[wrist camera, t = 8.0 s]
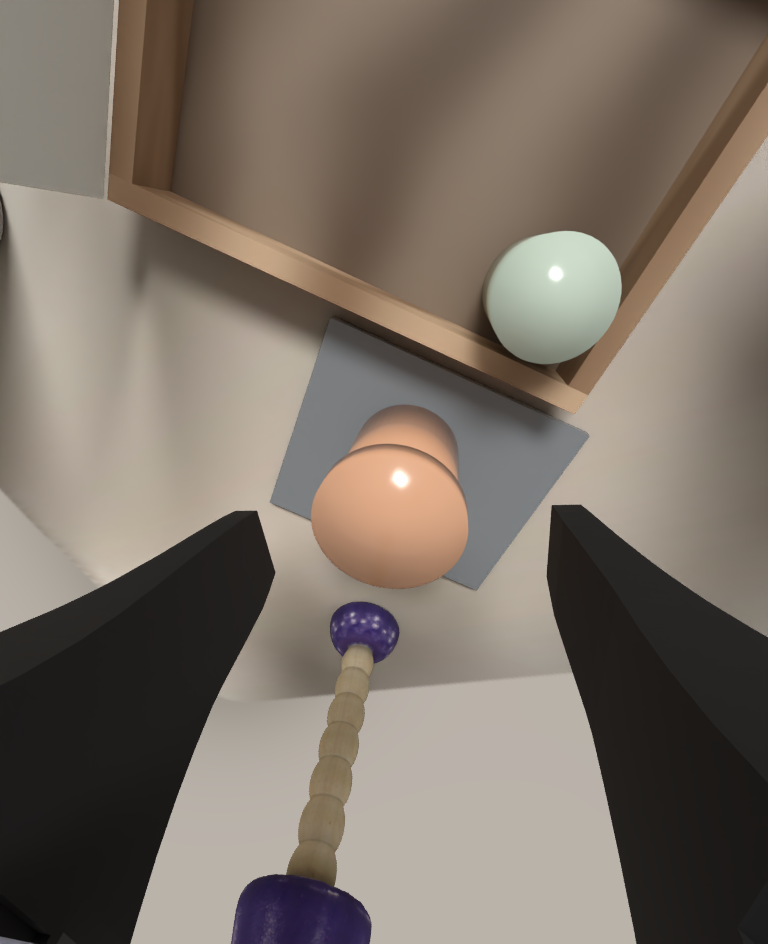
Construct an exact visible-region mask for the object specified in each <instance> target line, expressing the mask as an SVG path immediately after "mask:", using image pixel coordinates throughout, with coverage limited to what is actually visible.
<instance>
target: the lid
mask: <svg viewBox="0 0 768 944" xmlns="http://www.w3.org/2000/svg"><path fill="white" fill-rule="evenodd" d="M113 10H114V0H0V182H2V183H8V184H14V185H20V186H26V187H33V188H39V189H45V190H51V191H58V192H64V193H70V194H76V195H83V196H89V197H95V198H101V199H103V195H104V177H105V158H106V140H107V121H108V103H109V84H110V65H111V47H112V28H113Z"/></svg>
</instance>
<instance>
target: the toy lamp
mask: <svg viewBox="0 0 768 944" xmlns="http://www.w3.org/2000/svg"><path fill="white" fill-rule="evenodd" d="M330 634H331V639H332V642H333V645H334V647H335V648H336V650H337V651H338V652H339V653H340V654H341V655H342V656H343V659H342V664H341V670H342V672H341V674H340V675H339V677H338V679H337V682H336V686H335V699H334V700H333V702H332V703H331V705H330V708H329V711H328V717H327V719H328V720H327V723H328V727H327V728H326V730H325V731H324V733H323V735H322V738H321V741H320V745H319V763H318V764H317V765H316V767H315V769H314V771H313V774H312V777H311V780H310V787H309V795H310V801H309V802H308V803H307V805H306V807H305V808H304V810H303V812H302V816H301V819H300V823H299V829H298V830H299V831H298V837H299V838H298V839H299V846H298V847H297V848H296V850H295V851H294V853H293V855H292V857H291V859H290V862H289V865H288V869H287V874H286V875H278V874H275V875H268V876H263V877H260V878H257V879H255V880H253V881H252V882H251V883H249V884H248V885H247V886H246V887H245V888H244V890H243V892H242V893H241V895H240V898H239V901H238V904H237V909H236V914H235V920H234V927H233V934H232V941H231V944H369V943H370V937H371V921H370V917H369V915H368V913H367V911H366V910H365V908H364V906H363V905H362V903H361V902H360V901H358V900H357V899H355V898H354V897H353V896H351V895H350V894H349V893H347V892H345V891H342V890H340V889H338V888H336V887H334V885H335V880H336V872H337V865H336V864H337V862H336V857H335V851H336V850H337V848H338V846H339V845H340V842H341V839H342V836H343V832H344V826H345V814H344V808H343V806H344V805H345V803H346V802H347V800H348V797H349V795H350V791H351V786H352V772H351V767H352V765H353V764H354V761H355V759H356V756H357V753H358V747H359V739H358V732H359V731H360V729H361V727H362V725H363V721H364V714H365V712H364V705H363V704H364V702H365V700H366V698H367V696H368V692H369V679H368V678H369V676H370V674H371V672H372V670H373V664H374V663H377V662H379V661H381V660H383V659H384V658H386V657H387V656H388V655H389V654H390V653H391V652H392V651H393V649H394V647H395V645H396V643H397V641H398V637H399V627H398V624H397V622H396V620H395V619H394V617H393V616H392V615H391V614H390V613H389V612H388V611H387V610H385V609H383V608H382V607H380V606H377V605H375V604H372V603H367V602H352V603H348V604H346V605H343V606H342V607H340V608H339V609H337V611H336V612H335V613H334V614H333V616H332V619H331V624H330Z"/></svg>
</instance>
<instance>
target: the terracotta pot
mask: <svg viewBox="0 0 768 944" xmlns="http://www.w3.org/2000/svg"><path fill="white" fill-rule="evenodd" d="M311 522H312V528H313V532H314V536H315V538H316V540H317V543H318V544H319V546H320V548H321V550H322V551H323V552H324V554H325V555H326V556H327V558H328V559H329V560H330V561H331V562H332V563H333V564H334V565H335V566H337V567H338V568H339V569H340V570H341V571H343V572H344V573H346V574H347V575H349V576H351V577H353V578H355V579H357V580H359V581H361V582H364V583H367V584H370V585H373V586H378V587H383V588H392V589H403V588H412V587H417V586H421V585H424V584H427V583H430V582H432V581H434V580H436V579H438V578H440V577H441V576H443V575H444V574H446V573H447V572H448V571H449V570H450V569H451V568H452V567H453V566H454V565H455V564H456V563H457V562H458V560H459V558H460V557H461V555H462V553H463V551H464V549H465V546H466V543H467V539H468V511H467V502H466V498H465V494H464V492H463V489H462V487H461V485H460V484H459V457H458V445H457V441H456V438H455V435H454V434H453V432H452V430H451V428H450V427H449V426H448V424H447V423H446V422H445V421H444V420H443V419H442V418H441V417H439V416H438V415H437V414H435V413H433V412H432V411H430V410H428V409H425V408H422V407H419V406H414V405H395V406H391V407H387V408H385V409H382V410H380V411H378V412H377V413H375V414H374V415H372V416H371V417H370V418H369V419H368V420H367V421H366V422H365V424H364V425H363V426H362V428H361V430H360V432H359V433H358V435H357V437H356V439H355V441H354V443H353V445H352V446H351V448H350V450H349V452H348V454H347V455H345V456H344V457H342V458H341V459H340V460H339V461H338V462H336V463H335V464H334V465H333V467H332V468H331V469H330V470H329V472H328V473H327V475H326V477H325V478H324V480H323V482H322V484H321V485H320V487H319V489H318V491H317V492H316V495H315V497H314V500H313V504H312V509H311Z"/></svg>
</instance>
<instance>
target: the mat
mask: <svg viewBox="0 0 768 944" xmlns="http://www.w3.org/2000/svg"><path fill="white" fill-rule="evenodd" d="M395 405H414V406H419V407H422V408H425V409H428V410H430V411H432V412H433V413H435V414H437V415H438V416H439V417H441V418H442V419H443V420H444V421H445V422H446V423H447V424H448V426H449V427H450V428H451V430H452V432H453V434H454V435H455V438H456V441H457V445H458V457H459V484H460V485H461V487H462V489H463V492H464V494H465V498H466V502H467V511H468V539H467V543H466V546H465V549H464V551H463V553H462V555H461V557H460V558H459V560H458V562H457V563H456V564H455V565H454V566H453V567H452V568H451V569H450V570H449V571H448V572H447V573H446V574H444V575H443V576H444V577H446V578H448V579H451V580H453V581H456V582H458V583H460V584H463V585H465V586H467V587H470V588H472V589H474V590H477V589H478V588H479V586H480V585H481V584H482V582H483V581H484V580H485V578H486V577H487V575H488V574H489V573H490V571H491V570H492V569H493V567H494V566H495V564H496V563H497V562H498V560H499V559H500V558H501V556H502V555H503V554H504V552H505V551H506V549H507V548H508V547H509V545H510V544H511V543H512V541H513V540H514V539H515V537H516V536H517V534H518V533H519V532H520V530H521V529H522V528H523V526H524V525H525V524H526V522H527V521H528V519H529V518H530V517H531V515H532V514H533V513H534V511H535V510H536V509H537V507H538V506H539V504H540V503H541V502H542V500H543V499H544V498H545V496H546V495H547V494H548V492H549V491H550V489H551V488H552V487H553V485H554V484H555V483H556V481H557V480H558V479H559V477H560V476H561V474H562V473H563V472H564V470H565V469H566V468H567V466H568V465H569V464H570V462H571V461H572V459H573V458H574V457H575V455H576V454H577V453H578V451H579V450H580V449H581V447H582V446H583V444H584V443H585V442H586V440H587V439H588V438H589V435H588V433H587V432H585V431H583V430H580V429H578V428H576V427H574V426H572V425H569V424H567V423H565V422H563V421H561V420H559V419H556V418H554V417H552V416H550V415H548V414H545V413H543V412H541V411H539V410H537V409H535V408H532V407H530V406H528V405H526V404H524V403H521V402H519V401H517V400H515V399H513V398H510V397H508V396H506V395H504V394H502V393H500V392H497V391H495V390H493V389H491V388H489V387H486V386H484V385H482V384H480V383H478V382H476V381H473V380H471V379H469V378H467V377H465V376H462V375H460V374H458V373H456V372H454V371H452V370H449V369H447V368H445V367H443V366H441V365H438V364H436V363H434V362H432V361H430V360H428V359H425V358H423V357H421V356H419V355H417V354H414V353H412V352H410V351H408V350H406V349H404V348H401V347H399V346H397V345H395V344H393V343H390V342H388V341H386V340H384V339H382V338H380V337H377V336H375V335H373V334H371V333H369V332H366V331H364V330H362V329H360V328H358V327H356V326H353V325H351V324H349V323H347V322H345V321H342V320H340V319H338V318H336V317H334V316H332V317H330V320H329V323H328V326H327V329H326V332H325V335H324V338H323V341H322V344H321V347H320V350H319V353H318V356H317V359H316V363H315V366H314V369H313V372H312V375H311V378H310V381H309V384H308V387H307V390H306V393H305V396H304V399H303V402H302V405H301V408H300V411H299V414H298V418H297V421H296V424H295V427H294V430H293V433H292V436H291V439H290V442H289V445H288V448H287V451H286V454H285V457H284V460H283V463H282V466H281V469H280V473H279V476H278V479H277V482H276V485H275V488H274V491H273V494H272V497H271V500H270V503H273V504H275V505H277V506H280V507H282V508H284V509H287V510H289V511H291V512H294V513H296V514H298V515H301V516H303V517H305V518H308V519H310V520H311V509H312V504H313V500H314V497H315V495H316V492H317V491H318V489H319V487H320V485H321V484H322V482H323V480H324V478H325V477H326V475H327V473H328V472H329V470H330V469H331V468H332V467H333V465H334V464H335V463H336V462H338V461H339V460H340V459H341V458H342V457H344V456H345V455H347V454H348V452H349V450H350V448H351V446H352V445H353V443H354V441H355V439H356V437H357V435H358V433H359V432H360V430H361V428H362V426H363V425H364V424H365V422H366V421H367V420H368V419H369V418H370V417H371V416H372V415H374V414H375V413H377V412H378V411H380V410H382V409H385V408H387V407H391V406H395Z"/></svg>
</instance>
